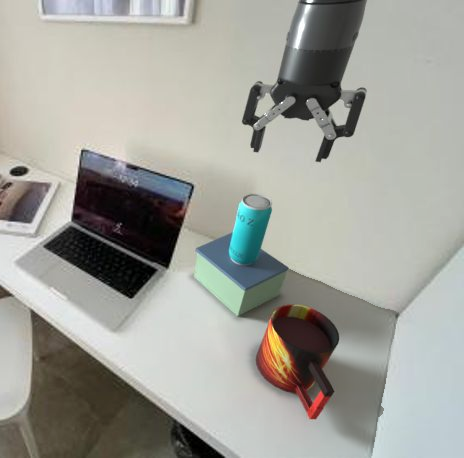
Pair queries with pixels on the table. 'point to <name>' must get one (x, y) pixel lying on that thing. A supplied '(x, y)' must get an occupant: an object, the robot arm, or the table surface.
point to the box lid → (240, 274)
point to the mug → (298, 353)
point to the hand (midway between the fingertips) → (286, 154)
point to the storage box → (235, 288)
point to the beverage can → (250, 228)
